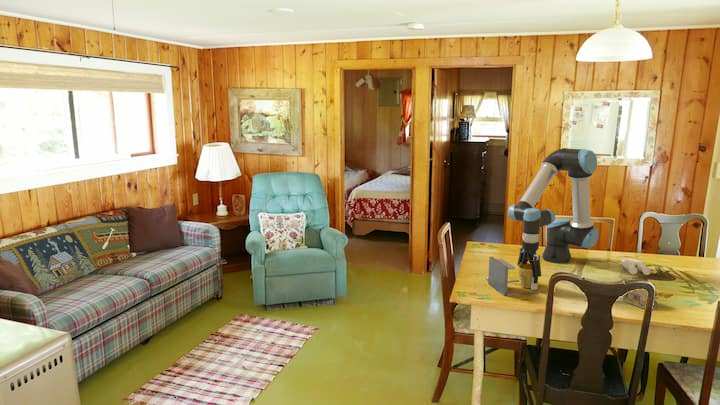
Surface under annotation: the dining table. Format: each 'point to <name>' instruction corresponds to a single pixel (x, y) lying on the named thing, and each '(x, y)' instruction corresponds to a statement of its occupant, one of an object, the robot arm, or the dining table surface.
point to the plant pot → (525, 275)
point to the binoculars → (635, 266)
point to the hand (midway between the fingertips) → (528, 285)
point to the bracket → (501, 276)
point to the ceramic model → (638, 298)
